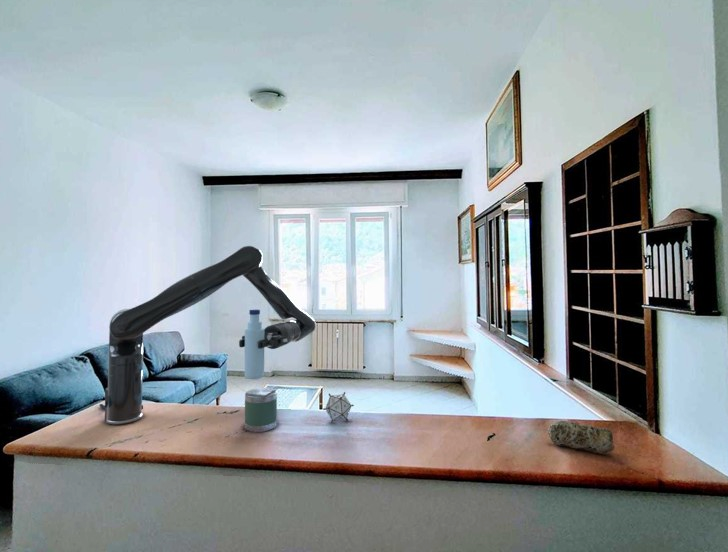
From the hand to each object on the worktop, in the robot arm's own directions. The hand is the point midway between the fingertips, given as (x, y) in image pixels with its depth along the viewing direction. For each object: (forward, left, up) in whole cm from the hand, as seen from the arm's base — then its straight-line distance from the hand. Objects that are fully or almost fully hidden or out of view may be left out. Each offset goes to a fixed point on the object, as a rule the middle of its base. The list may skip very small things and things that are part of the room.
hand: (249, 344), depth 115 cm
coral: (+87, +16, -24) cm, 92 cm away
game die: (+22, +14, -24) cm, 36 cm away
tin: (+2, +3, -24) cm, 24 cm away
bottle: (0, +3, -10) cm, 10 cm away
